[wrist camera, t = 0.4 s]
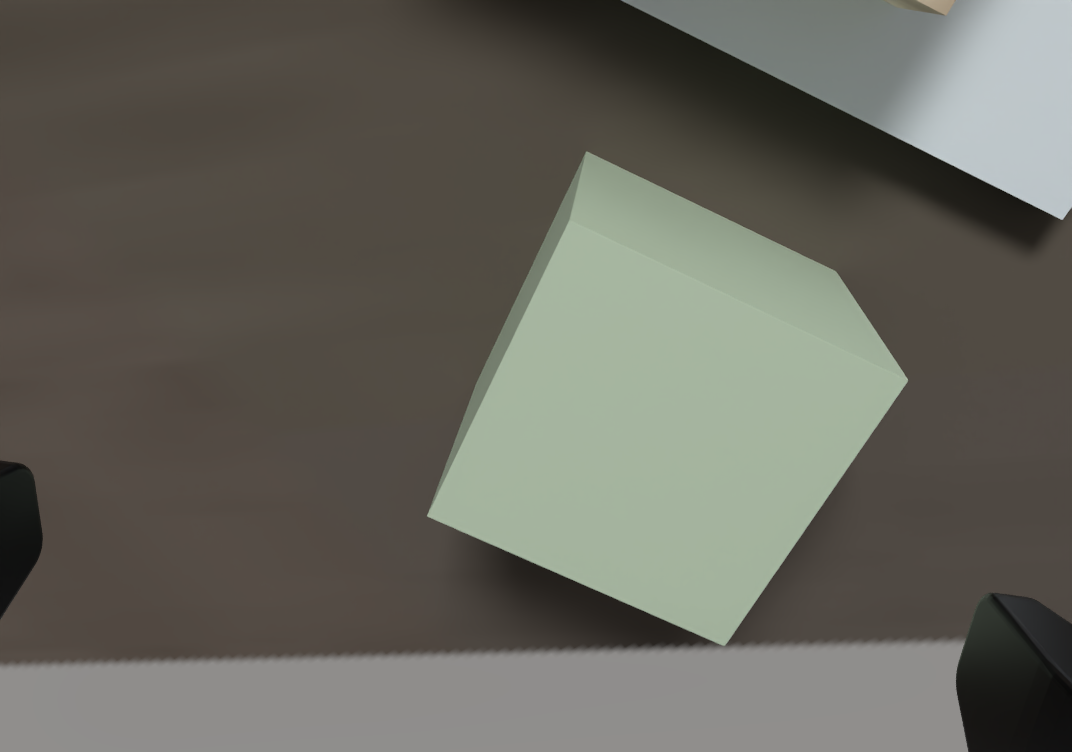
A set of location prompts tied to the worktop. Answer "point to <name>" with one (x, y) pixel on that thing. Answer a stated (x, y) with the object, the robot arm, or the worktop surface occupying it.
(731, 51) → the pale blue-grey board
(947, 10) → the birch plinth
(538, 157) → the worktop surface
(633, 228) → the sage cube
